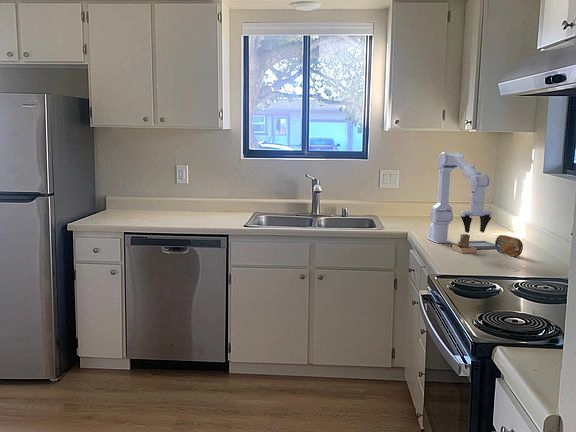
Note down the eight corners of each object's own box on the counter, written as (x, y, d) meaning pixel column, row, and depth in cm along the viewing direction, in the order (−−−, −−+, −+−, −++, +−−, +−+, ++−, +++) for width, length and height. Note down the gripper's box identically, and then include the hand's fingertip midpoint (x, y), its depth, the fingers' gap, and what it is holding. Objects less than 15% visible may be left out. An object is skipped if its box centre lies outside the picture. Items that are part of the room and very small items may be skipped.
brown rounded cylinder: (457, 250, 262) (458, 234, 261) (465, 249, 263) (466, 233, 262) (462, 252, 258) (463, 235, 257) (470, 251, 259) (471, 235, 258)
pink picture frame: (451, 249, 263) (452, 245, 263) (466, 248, 265) (466, 244, 265) (461, 253, 256) (461, 248, 256) (475, 252, 258) (476, 248, 258)
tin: (493, 251, 263) (495, 233, 262) (499, 250, 264) (501, 233, 263) (517, 258, 249) (519, 239, 248) (523, 258, 250) (525, 239, 249)
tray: (458, 244, 275) (458, 241, 275) (484, 243, 279) (485, 240, 279) (471, 249, 265) (471, 246, 264) (498, 248, 269) (498, 245, 268)
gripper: (468, 203, 244) (465, 234, 246) (497, 203, 248) (494, 233, 251) (459, 200, 251) (456, 231, 253) (487, 200, 255) (484, 230, 257)
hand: (474, 232), depth 252 cm, fingers open, 7 cm apart
